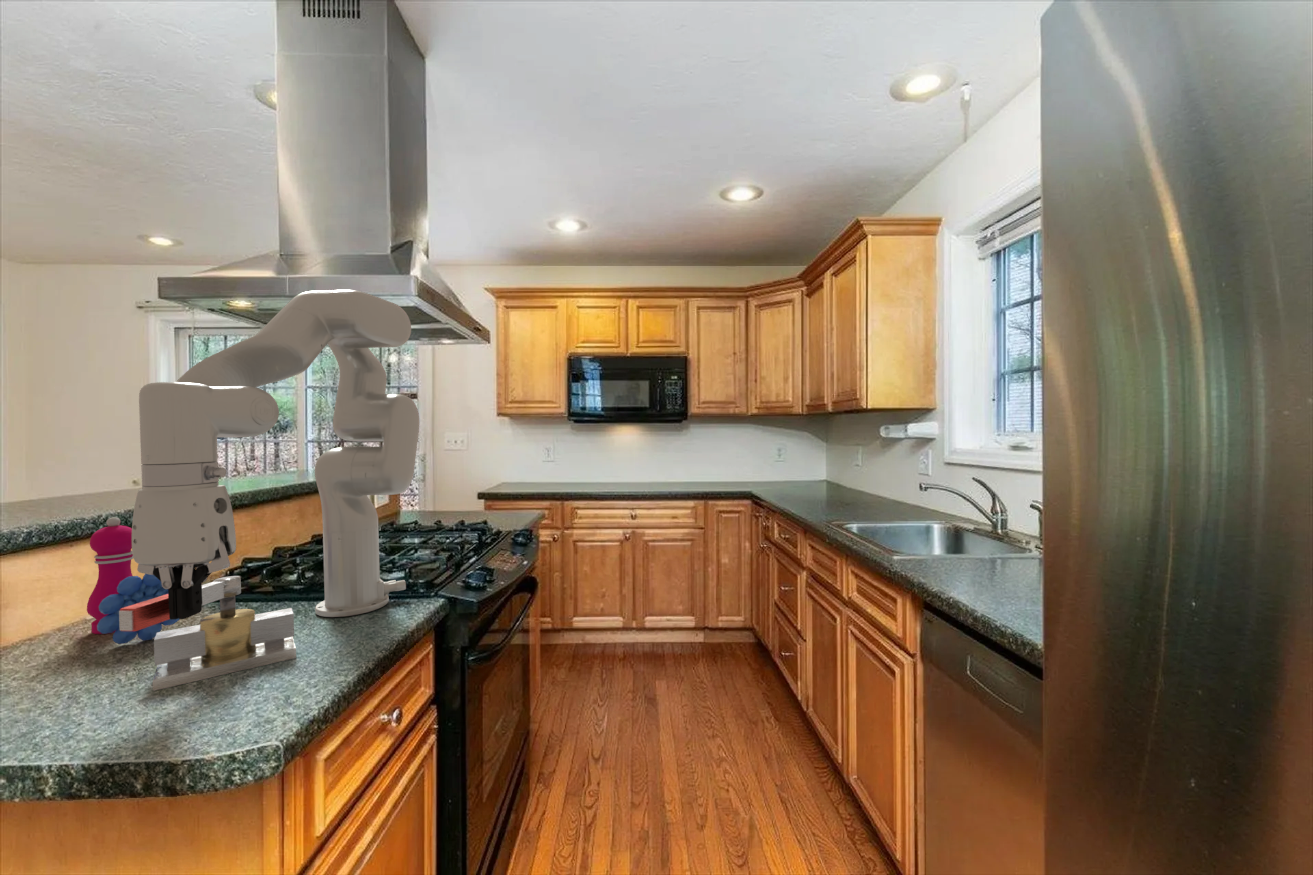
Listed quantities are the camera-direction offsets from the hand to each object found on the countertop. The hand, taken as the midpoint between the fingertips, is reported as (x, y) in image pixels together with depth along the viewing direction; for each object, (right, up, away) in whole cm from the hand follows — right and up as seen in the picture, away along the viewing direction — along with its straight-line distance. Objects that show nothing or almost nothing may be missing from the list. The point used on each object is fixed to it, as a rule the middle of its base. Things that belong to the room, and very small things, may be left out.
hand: (186, 615), depth 70 cm
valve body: (-2, -10, +10) cm, 14 cm away
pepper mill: (-35, -11, +26) cm, 45 cm away
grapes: (-24, -11, +20) cm, 34 cm away
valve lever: (-3, 0, +3) cm, 4 cm away
